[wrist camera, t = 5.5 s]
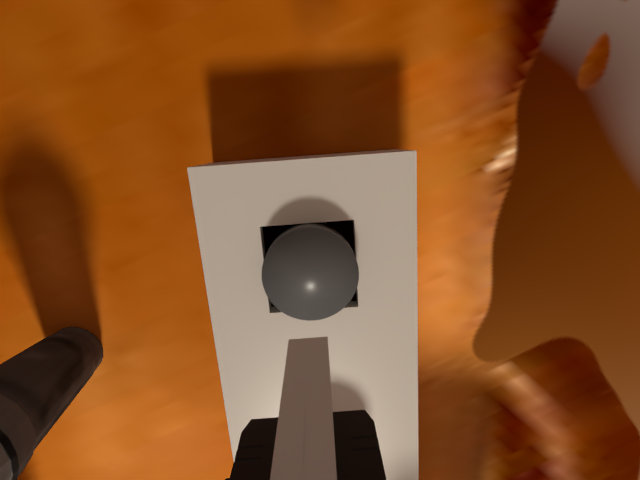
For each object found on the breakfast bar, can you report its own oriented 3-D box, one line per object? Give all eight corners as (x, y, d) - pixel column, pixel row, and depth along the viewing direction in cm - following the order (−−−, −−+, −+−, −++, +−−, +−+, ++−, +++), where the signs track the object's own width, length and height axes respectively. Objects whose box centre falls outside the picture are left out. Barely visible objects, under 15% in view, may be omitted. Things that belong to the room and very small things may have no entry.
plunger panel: (212, 162, 29) (187, 167, 23) (395, 149, 29) (416, 150, 23) (257, 478, 36) (246, 542, 30) (402, 468, 36) (419, 530, 30)
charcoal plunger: (267, 214, 28) (256, 232, 22) (348, 208, 28) (356, 224, 22) (275, 290, 29) (267, 323, 24) (352, 284, 29) (361, 317, 24)
